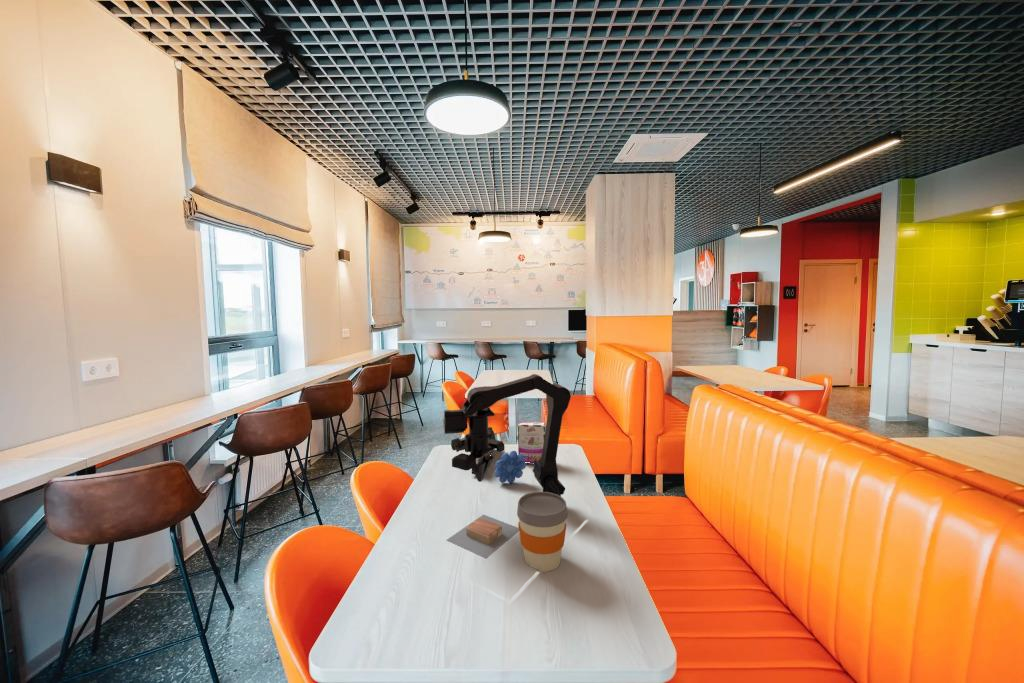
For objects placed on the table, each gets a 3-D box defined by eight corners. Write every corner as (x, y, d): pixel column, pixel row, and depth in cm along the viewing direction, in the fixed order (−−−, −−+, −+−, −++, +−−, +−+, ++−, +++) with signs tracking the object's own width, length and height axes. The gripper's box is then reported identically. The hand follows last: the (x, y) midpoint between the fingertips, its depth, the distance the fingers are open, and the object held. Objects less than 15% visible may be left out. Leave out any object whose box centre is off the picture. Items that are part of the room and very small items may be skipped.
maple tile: (480, 517, 114) (466, 526, 109) (502, 525, 110) (488, 536, 105) (480, 525, 114) (466, 535, 109) (502, 534, 110) (488, 544, 105)
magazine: (477, 457, 145) (493, 413, 172) (469, 456, 145) (486, 412, 173) (481, 493, 151) (496, 445, 178) (473, 492, 151) (489, 445, 179)
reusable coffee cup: (533, 583, 91) (533, 521, 90) (509, 553, 102) (508, 498, 101) (577, 566, 97) (577, 507, 95) (549, 539, 108) (549, 487, 106)
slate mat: (483, 516, 120) (483, 514, 120) (521, 530, 112) (521, 528, 112) (446, 542, 107) (446, 540, 107) (486, 560, 99) (486, 558, 99)
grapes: (524, 477, 148) (524, 446, 147) (527, 485, 141) (526, 452, 140) (493, 478, 147) (493, 447, 146) (494, 486, 140) (494, 454, 139)
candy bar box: (546, 460, 163) (546, 422, 162) (545, 465, 158) (545, 425, 157) (519, 459, 165) (519, 421, 164) (518, 463, 160) (517, 424, 159)
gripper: (477, 419, 129) (478, 464, 130) (436, 435, 113) (438, 487, 115) (505, 424, 123) (505, 472, 124) (466, 441, 107) (468, 496, 109)
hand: (480, 481), depth 118 cm, fingers closed
